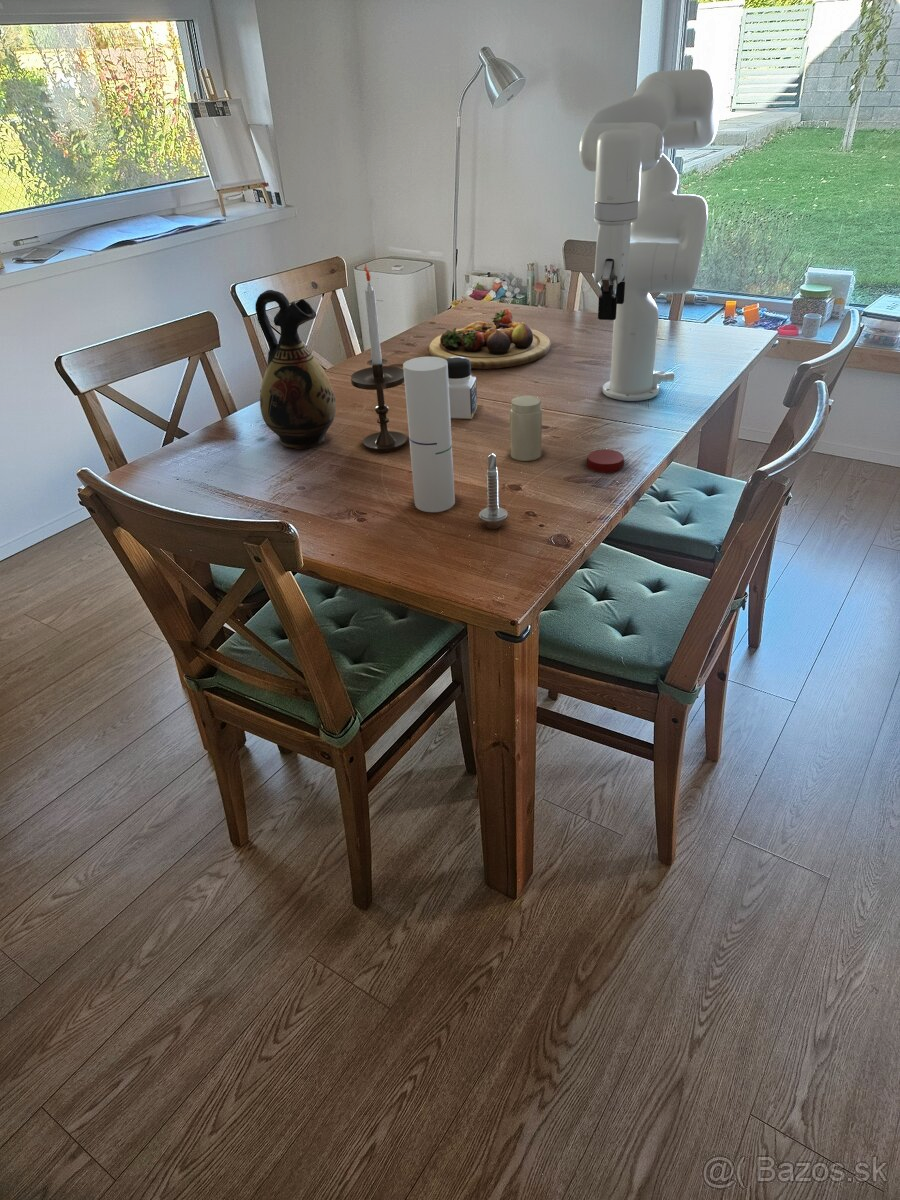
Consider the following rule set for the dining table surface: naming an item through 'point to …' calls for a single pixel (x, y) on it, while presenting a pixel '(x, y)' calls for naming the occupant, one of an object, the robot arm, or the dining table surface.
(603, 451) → the lid
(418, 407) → the cylindrical container
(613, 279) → the robot arm
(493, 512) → the screw
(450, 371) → the medicine bottle
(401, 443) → the candlestick
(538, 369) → the dining table surface
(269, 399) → the ceramic jug
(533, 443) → the jar
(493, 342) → the wooden plate
